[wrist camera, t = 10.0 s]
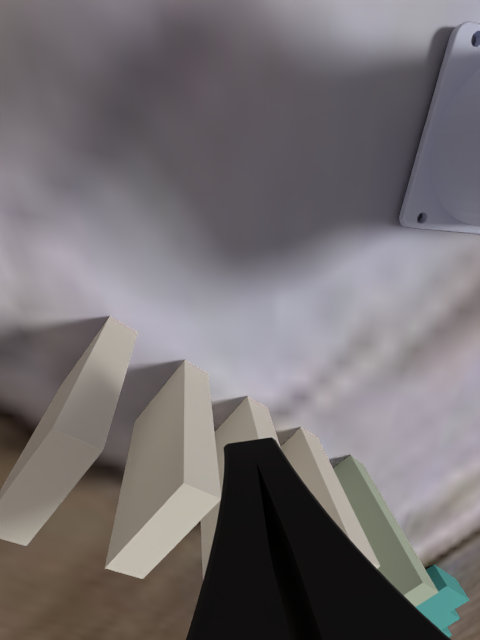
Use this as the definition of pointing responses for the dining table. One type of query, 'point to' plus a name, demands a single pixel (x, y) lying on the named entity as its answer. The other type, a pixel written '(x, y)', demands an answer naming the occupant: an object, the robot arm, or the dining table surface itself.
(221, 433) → the ivory domino
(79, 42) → the dining table surface
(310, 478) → the ivory domino
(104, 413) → the ivory domino
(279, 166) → the dining table surface
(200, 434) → the ivory domino
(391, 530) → the green domino
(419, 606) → the alien figure
